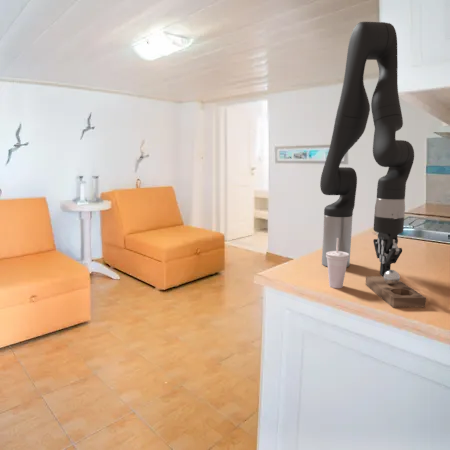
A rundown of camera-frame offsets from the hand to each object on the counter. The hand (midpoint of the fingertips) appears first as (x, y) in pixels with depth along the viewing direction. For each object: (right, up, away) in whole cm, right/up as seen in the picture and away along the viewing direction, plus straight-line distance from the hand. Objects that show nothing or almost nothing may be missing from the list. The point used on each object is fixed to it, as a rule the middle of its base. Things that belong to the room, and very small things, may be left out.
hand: (384, 275), depth 105 cm
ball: (0, 0, -4) cm, 4 cm away
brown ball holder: (0, -5, -5) cm, 6 cm away
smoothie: (-13, -3, +2) cm, 14 cm away
